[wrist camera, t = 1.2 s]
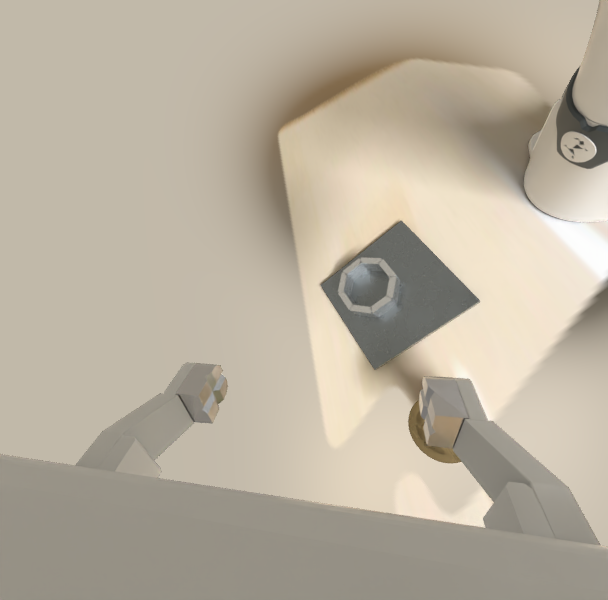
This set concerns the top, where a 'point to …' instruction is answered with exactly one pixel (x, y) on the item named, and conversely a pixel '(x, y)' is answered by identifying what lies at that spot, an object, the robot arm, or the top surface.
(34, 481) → the robot arm
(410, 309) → the flange base
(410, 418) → the brass fitting
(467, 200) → the top surface
